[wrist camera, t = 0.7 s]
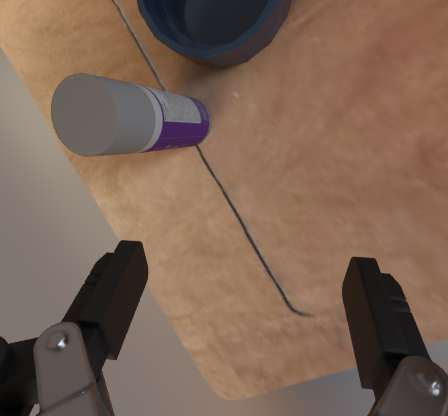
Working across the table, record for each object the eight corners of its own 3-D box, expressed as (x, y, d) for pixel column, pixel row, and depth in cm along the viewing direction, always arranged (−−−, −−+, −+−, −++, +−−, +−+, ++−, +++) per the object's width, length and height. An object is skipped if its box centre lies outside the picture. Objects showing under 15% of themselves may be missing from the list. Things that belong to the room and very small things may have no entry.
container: (182, 155, 32) (77, 173, 18) (159, 114, 32) (35, 102, 18) (219, 130, 31) (135, 130, 17) (195, 87, 30) (89, 51, 16)
